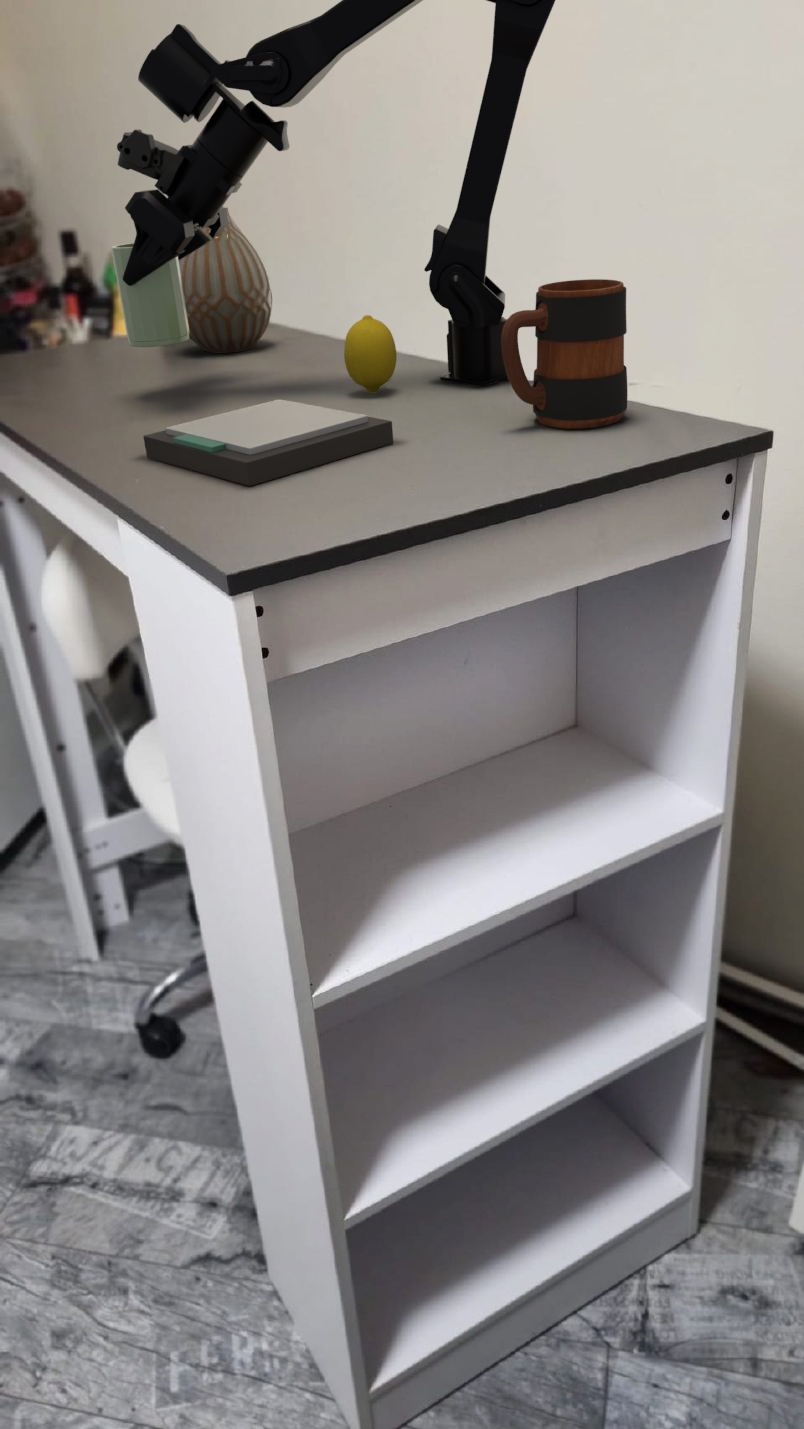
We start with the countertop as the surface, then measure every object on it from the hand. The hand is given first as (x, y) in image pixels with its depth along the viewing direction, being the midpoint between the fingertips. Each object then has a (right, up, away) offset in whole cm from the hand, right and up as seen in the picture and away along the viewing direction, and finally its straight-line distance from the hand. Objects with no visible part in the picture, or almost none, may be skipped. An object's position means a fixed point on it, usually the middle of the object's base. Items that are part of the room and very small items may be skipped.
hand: (136, 278), depth 119 cm
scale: (+17, -23, -19) cm, 35 cm away
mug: (+44, -20, -17) cm, 51 cm away
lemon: (+26, -13, -1) cm, 29 cm away
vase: (+5, +2, +31) cm, 31 cm away
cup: (+2, -6, +3) cm, 7 cm away
